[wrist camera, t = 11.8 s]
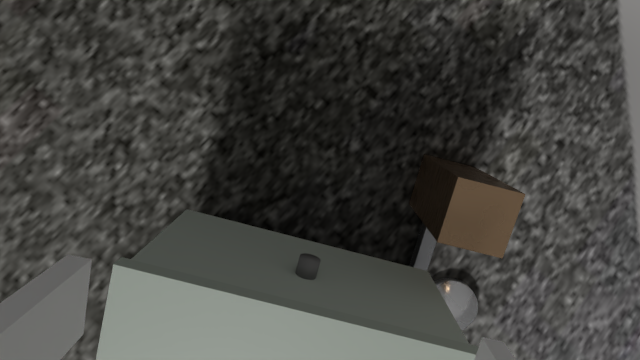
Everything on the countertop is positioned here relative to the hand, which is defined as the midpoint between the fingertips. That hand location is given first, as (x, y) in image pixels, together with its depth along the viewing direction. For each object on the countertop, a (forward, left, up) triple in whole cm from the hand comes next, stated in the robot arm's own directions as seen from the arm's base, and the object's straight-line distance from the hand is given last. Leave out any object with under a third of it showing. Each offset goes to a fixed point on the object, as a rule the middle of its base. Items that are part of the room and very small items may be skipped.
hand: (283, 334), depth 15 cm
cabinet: (+12, +1, -25) cm, 27 cm away
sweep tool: (+3, +11, -25) cm, 27 cm away
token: (+8, +15, -25) cm, 30 cm away
